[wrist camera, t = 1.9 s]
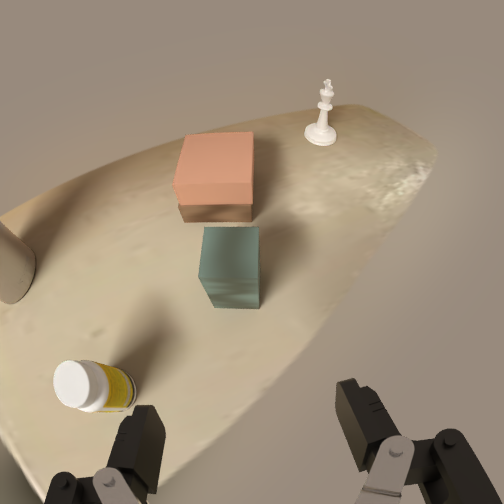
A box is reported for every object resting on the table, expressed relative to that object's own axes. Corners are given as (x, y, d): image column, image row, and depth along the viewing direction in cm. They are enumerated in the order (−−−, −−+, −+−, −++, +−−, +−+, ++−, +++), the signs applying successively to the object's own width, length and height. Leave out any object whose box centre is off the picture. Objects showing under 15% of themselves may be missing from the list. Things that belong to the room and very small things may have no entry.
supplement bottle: (123, 360, 27) (79, 344, 19) (145, 399, 25) (104, 397, 17) (91, 381, 25) (42, 370, 18) (112, 419, 23) (64, 421, 16)
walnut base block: (185, 224, 34) (178, 206, 31) (194, 174, 38) (189, 156, 35) (252, 223, 34) (250, 205, 31) (253, 173, 38) (252, 154, 35)
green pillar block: (214, 307, 29) (198, 277, 22) (217, 267, 31) (204, 227, 24) (259, 309, 29) (257, 278, 22) (260, 268, 31) (258, 227, 24)
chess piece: (327, 124, 42) (336, 71, 33) (341, 143, 40) (354, 88, 31) (299, 128, 41) (303, 73, 33) (312, 148, 39) (320, 90, 30)
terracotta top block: (180, 205, 31) (172, 184, 28) (191, 155, 35) (185, 134, 32) (252, 204, 31) (251, 182, 28) (254, 153, 35) (253, 131, 32)
